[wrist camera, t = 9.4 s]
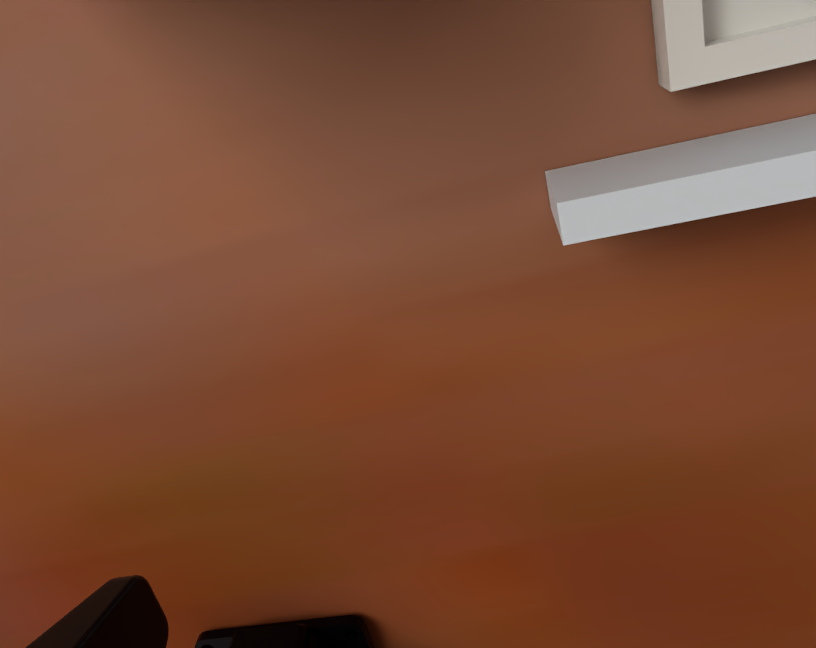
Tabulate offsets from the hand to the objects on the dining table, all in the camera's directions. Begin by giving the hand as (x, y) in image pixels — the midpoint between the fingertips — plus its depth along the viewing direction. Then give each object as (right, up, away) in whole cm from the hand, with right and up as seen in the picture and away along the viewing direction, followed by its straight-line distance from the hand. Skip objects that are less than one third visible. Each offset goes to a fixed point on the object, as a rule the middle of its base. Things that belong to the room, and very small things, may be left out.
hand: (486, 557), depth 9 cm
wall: (+9, +8, +9) cm, 15 cm away
